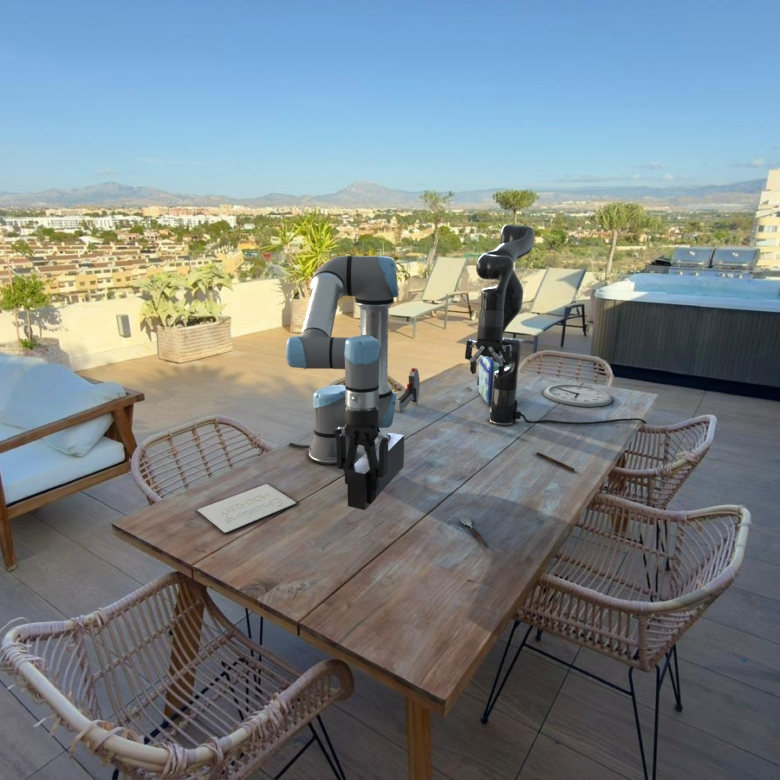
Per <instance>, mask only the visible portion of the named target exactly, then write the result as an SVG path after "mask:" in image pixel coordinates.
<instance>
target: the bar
mask: <svg viewBox="0 0 780 780" xmlns="http://www.w3.org/2000/svg"><path fill="white" fill-rule="evenodd" d="M386 435H390V436H391V439H390V441H389V443H388V469H387V473H386V474H385V475H384V476H383V477H382V478H381V477H379V488H378V489H377V490H376V498H378V496H379V495H380V494H381V493H382V492H383V491H384V490H385V488H387V487H388V486H389V484H391V482H392V481H393V480H394V479H395V477H396V476H397V475H398V474H399V473H400V472H401V471H402V470H403V468H405V467H404V466H405V465H404V462H405V461H404V460H405V435H404V434H399V433H394V432H388V433H387V434H386ZM379 446H380V444H379V441H378V442H377V443H375V450H376V455H377V459H378V464H379ZM370 476H371V472H370V468H369V463H368V459H367V454H366V453H364V454H363V455H362V456H361V457H359V459H358V460H357V461H355V462H354V465H353V466H351V467H350V468H349V469H348V470H347V484H346V485H347V488H346V489H347V507H350V508H354V509H358V510H363V511H366V510H367V509H368V508H369V507H370V506H371V504H369V503H368V478H369V477H370Z"/></svg>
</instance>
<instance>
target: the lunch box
mask: <svg viewBox="0 0 780 780" xmlns="http://www.w3.org/2000/svg"><path fill="white" fill-rule="evenodd" d="M499 366H500V365H499V364H498V363H497V362H493V361H492V358H491V357H488V356H485V357H484V356H482V355H481V356H480V358H479V360H478V377H477V381H476V384H477V385H476V386H478V393H479V395H480V396H481V397H482V399H483V400H484V402H485V404H487V405H488V406H489V405H490V406H491V398H492V385H493V374H494V372H495V371H497V370H498V368H499ZM508 366H509V365H506V366H505V368H506V367H508Z"/></svg>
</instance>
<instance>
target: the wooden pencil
mask: <svg viewBox="0 0 780 780" xmlns="http://www.w3.org/2000/svg"><path fill="white" fill-rule="evenodd" d="M535 455H536V456H538V457H541V458H543V459H545V460H547V461H549V462H552V463H553V464H555V465H558V466H560V467H562V468H564V469H566V470H569V471H571V472H575V468H574V467H572V466H570V465H567V464H566V463H564V462H561V461H558V460H557V459H554V458H552V457H549V456H548V455H546V454H543V453H541V452H539V451H537V452H536V454H535Z"/></svg>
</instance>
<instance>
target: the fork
mask: <svg viewBox="0 0 780 780" xmlns="http://www.w3.org/2000/svg"><path fill="white" fill-rule="evenodd" d="M457 512H458V516H459V519H460V521H461V523H462V524H463V525H464V526H468V527H469V528H470V529H471V531H472V533H473V534H474V537H476V539H478V541H480V543H481V544H482V545H483V546H484V547H485V548H486V549H489V547H488V545H487V543H486V541H485V540H484V539H483V537H482V535H481V534H480V532H479V531H477V529H475V528H474V527H473V525H472V519H471V518H470V516H469V514H468V511H467V510H464V509H462V510H459V509H457ZM465 512H466V513H465Z"/></svg>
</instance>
